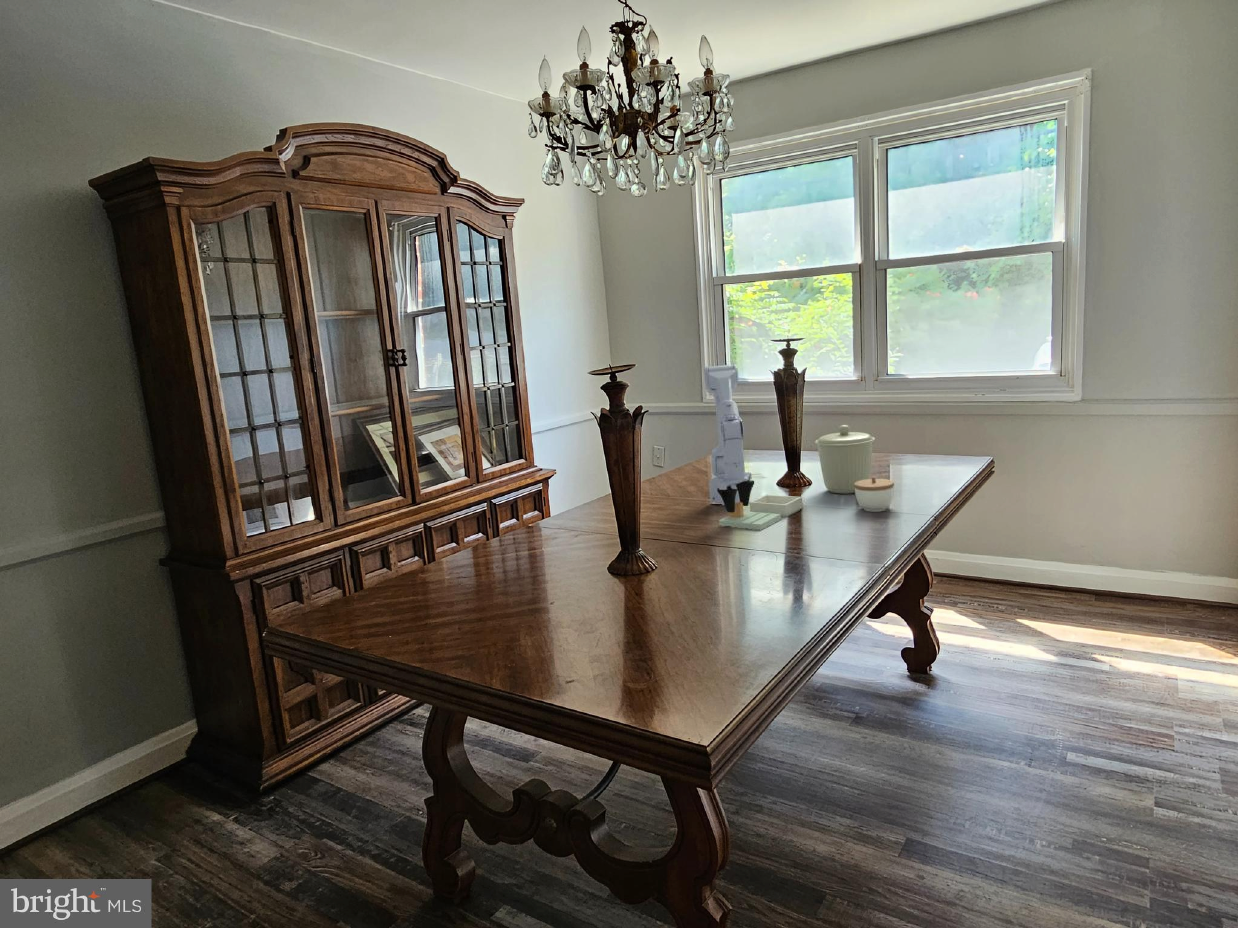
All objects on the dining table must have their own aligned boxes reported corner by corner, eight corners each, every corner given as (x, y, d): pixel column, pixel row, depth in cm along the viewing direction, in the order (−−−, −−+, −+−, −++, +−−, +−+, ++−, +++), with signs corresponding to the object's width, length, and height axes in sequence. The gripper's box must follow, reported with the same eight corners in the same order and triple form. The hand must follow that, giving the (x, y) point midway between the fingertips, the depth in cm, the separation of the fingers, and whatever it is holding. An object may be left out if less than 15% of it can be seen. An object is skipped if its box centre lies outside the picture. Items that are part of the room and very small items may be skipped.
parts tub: (750, 513, 227) (749, 502, 226) (766, 505, 234) (766, 494, 234) (786, 516, 219) (785, 504, 219) (802, 508, 227) (801, 496, 226)
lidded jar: (900, 511, 212) (899, 478, 210) (861, 515, 212) (860, 482, 211) (887, 503, 223) (886, 471, 221) (851, 506, 223) (849, 475, 221)
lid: (719, 525, 217) (717, 506, 216) (740, 516, 225) (738, 497, 224) (761, 530, 208) (759, 510, 207) (781, 519, 217) (779, 500, 216)
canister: (806, 491, 248) (802, 427, 244) (849, 481, 255) (846, 419, 252) (844, 500, 232) (840, 431, 228) (889, 489, 239) (886, 422, 235)
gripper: (732, 467, 208) (736, 516, 211) (759, 457, 219) (762, 503, 221) (711, 467, 213) (715, 514, 215) (738, 457, 224) (741, 502, 226)
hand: (737, 508), depth 219 cm, fingers open, 7 cm apart
